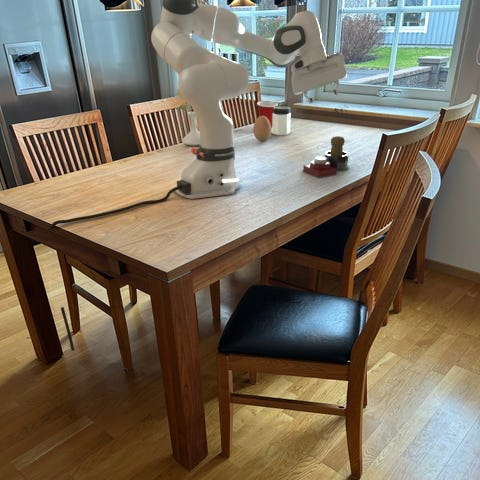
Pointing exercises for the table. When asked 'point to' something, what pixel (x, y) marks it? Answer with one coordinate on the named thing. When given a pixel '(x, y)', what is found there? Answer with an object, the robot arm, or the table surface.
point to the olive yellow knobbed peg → (337, 146)
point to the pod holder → (338, 160)
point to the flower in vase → (193, 135)
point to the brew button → (320, 160)
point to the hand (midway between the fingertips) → (323, 99)
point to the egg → (262, 128)
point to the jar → (281, 120)
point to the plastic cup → (267, 109)
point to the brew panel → (319, 169)
